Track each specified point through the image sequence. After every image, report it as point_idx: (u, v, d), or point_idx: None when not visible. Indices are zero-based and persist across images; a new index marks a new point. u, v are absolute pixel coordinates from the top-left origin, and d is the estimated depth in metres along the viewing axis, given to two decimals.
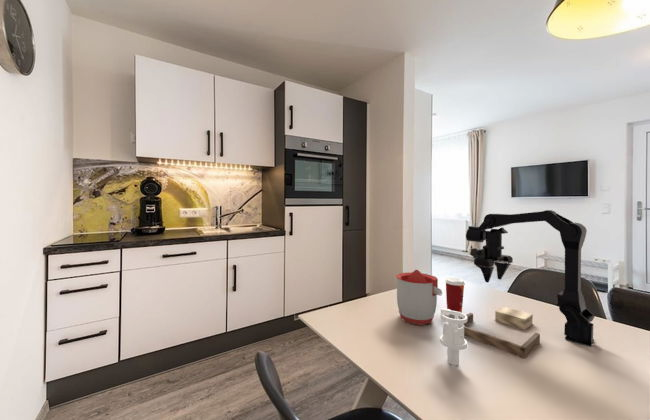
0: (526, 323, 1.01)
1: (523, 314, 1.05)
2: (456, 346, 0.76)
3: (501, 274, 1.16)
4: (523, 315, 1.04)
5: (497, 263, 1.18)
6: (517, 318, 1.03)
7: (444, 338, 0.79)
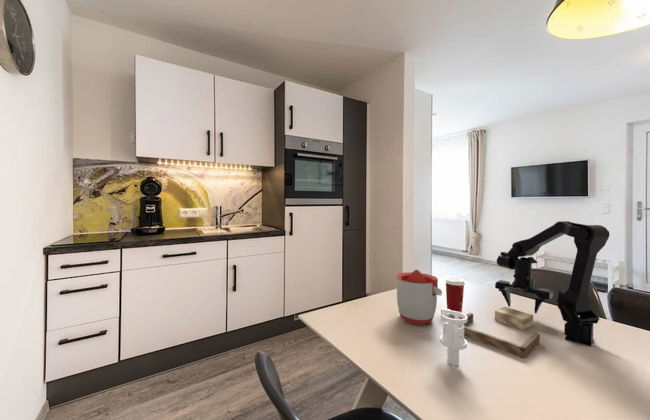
0: (524, 323, 1.01)
1: (523, 314, 1.05)
2: (456, 346, 0.76)
3: None
4: (522, 315, 1.04)
5: None
6: (516, 318, 1.03)
7: (444, 338, 0.79)
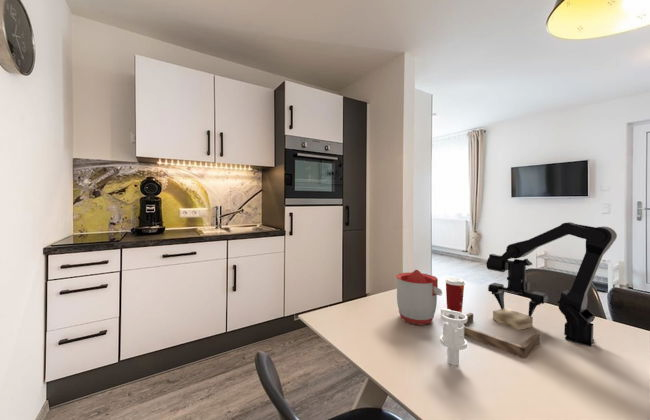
0: (521, 325, 1.01)
1: (522, 316, 1.04)
2: (456, 346, 0.76)
3: None
4: (520, 317, 1.03)
5: None
6: (512, 319, 1.03)
7: (444, 338, 0.79)
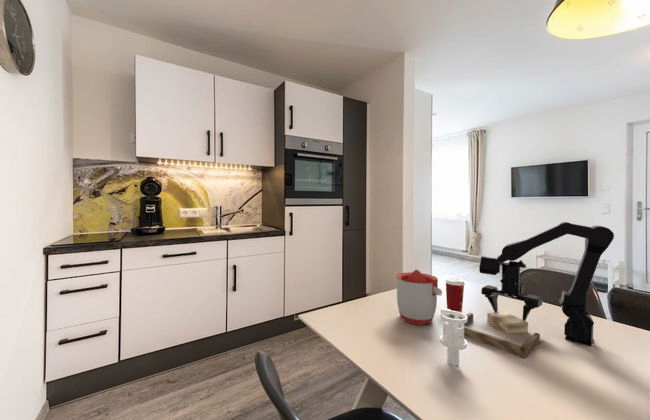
0: (511, 328, 0.98)
1: (516, 320, 1.00)
2: (456, 346, 0.76)
3: None
4: (513, 321, 1.00)
5: None
6: (503, 322, 1.00)
7: (444, 338, 0.79)
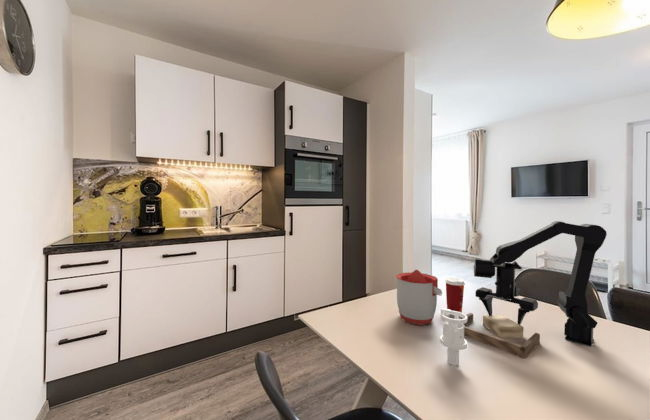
0: (503, 332, 0.95)
1: (511, 324, 0.97)
2: (456, 346, 0.76)
3: None
4: (507, 324, 0.96)
5: None
6: (496, 325, 0.97)
7: (444, 338, 0.79)
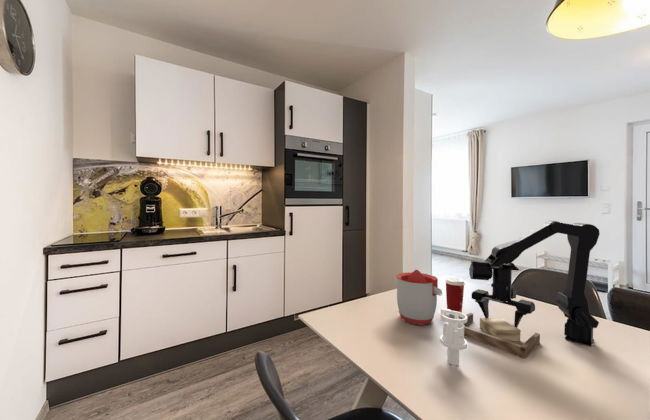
0: (499, 335, 0.92)
1: (508, 327, 0.94)
2: (456, 346, 0.76)
3: None
4: (504, 327, 0.94)
5: None
6: (492, 328, 0.95)
7: (444, 338, 0.79)
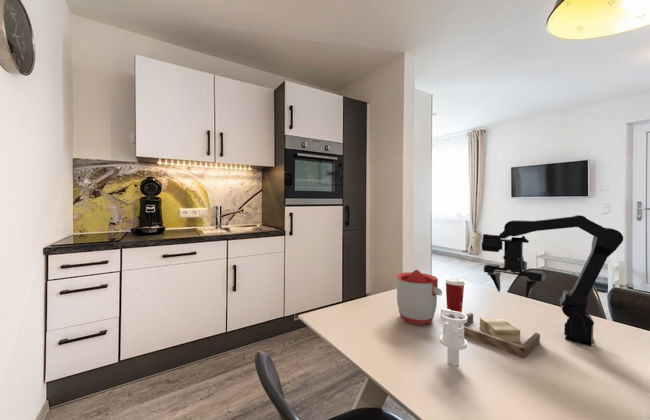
0: (499, 335, 0.92)
1: (507, 327, 0.94)
2: (456, 346, 0.76)
3: None
4: (504, 327, 0.94)
5: None
6: (491, 328, 0.95)
7: (444, 338, 0.79)
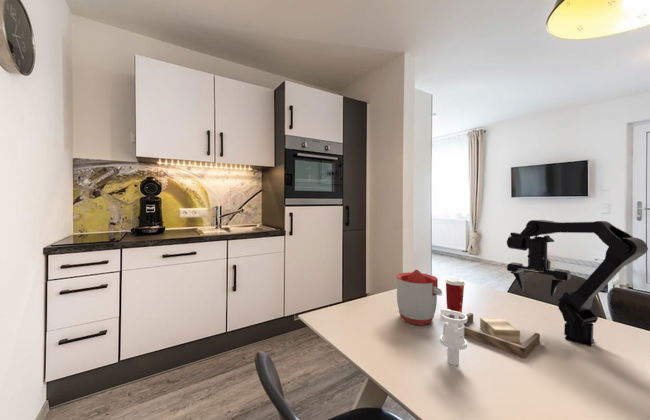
0: (498, 335, 0.92)
1: (507, 327, 0.94)
2: (456, 346, 0.76)
3: (551, 290, 1.01)
4: (503, 327, 0.94)
5: None
6: (491, 328, 0.95)
7: (444, 338, 0.79)
